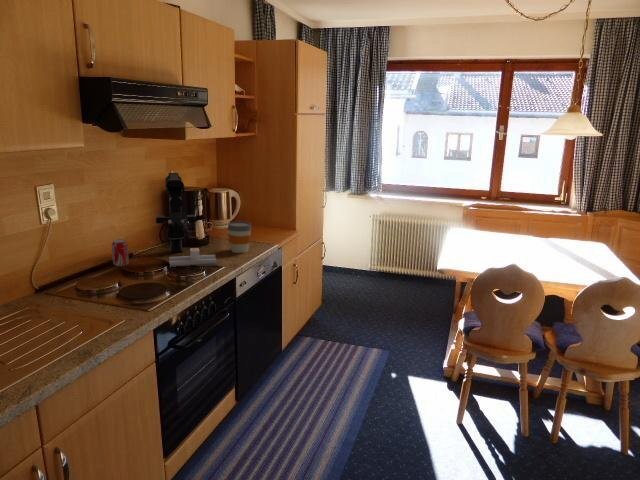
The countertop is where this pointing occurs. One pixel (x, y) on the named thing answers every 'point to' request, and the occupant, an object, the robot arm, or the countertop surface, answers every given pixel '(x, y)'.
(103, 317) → the countertop surface
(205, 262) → the rail
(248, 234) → the reusable coffee cup
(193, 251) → the block
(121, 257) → the soda can
